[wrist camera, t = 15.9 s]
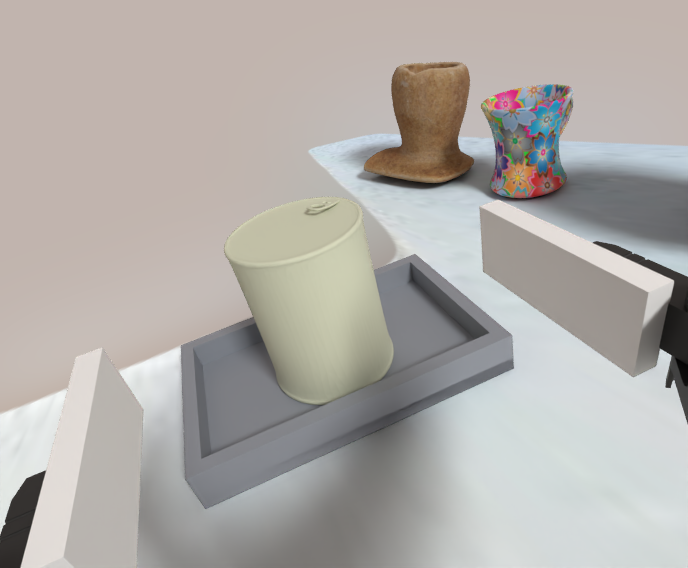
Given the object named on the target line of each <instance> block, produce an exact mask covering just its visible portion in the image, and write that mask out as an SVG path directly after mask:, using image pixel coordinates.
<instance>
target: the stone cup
mask: <svg viewBox="0 0 688 568" xmlns="http://www.w3.org/2000/svg"><path fill="white" fill-rule="evenodd" d="M469 86H470V77H469V72H468V69H467V67H466V66H465V65H464V64H463V63H459V62H439V63H426V64H423V63H414V64H404V65H401V66H399V67H397V68H396V70H395V72H394V74H393V77H392V99H393V107H394V112H395V116H396V119H397V123H398V126H399V129H400V134H401V138H402V145H401V146H400V147H394V148H389V149H385V150H382V151H380V152H378V153H376V154H375V155H373V156H372V157H371V158H370V159H369V160H367V161H366V163H365V165H364V170H365V171H368V172H372V173H376V174H380V175H384V176H389V177H393V178H399V179H404V180H410V181H417V182H425V183H440V182H445V181H448V180H451V179H454V178H456V177H458V176H460V175H462V174H463V173H465V172H466V171H468V170H469V169H470V168H471V166H472V165H473V163H474V159H473V158H472V157H470V156H468V155H466V154H464V153H463V152H461V151H460V149H459V146H458V135H459V131H460V127H461V124H462V121H463V117H464V114H465V110H466V105H467V98H468V94H469Z"/></svg>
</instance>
